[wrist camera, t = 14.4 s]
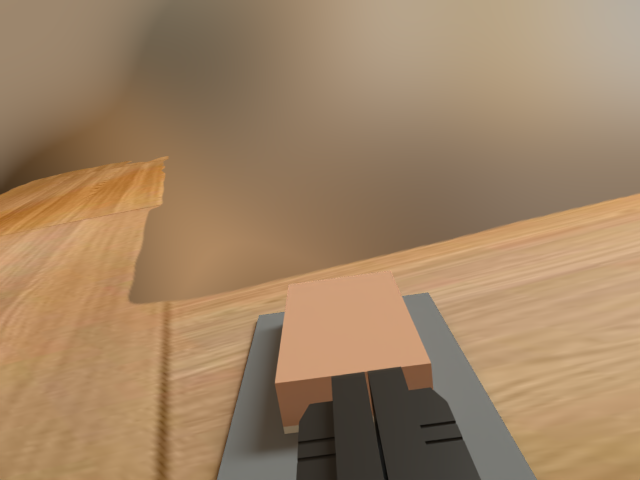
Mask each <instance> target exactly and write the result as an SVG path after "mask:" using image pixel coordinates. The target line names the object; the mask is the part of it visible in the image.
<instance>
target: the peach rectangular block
mask: <svg viewBox="0 0 640 480" xmlns="http://www.w3.org/2000/svg"><path fill="white" fill-rule="evenodd" d="M400 366H401V368H402V370H403V374H404V377H405V380H406V383H407V386H408V389H409V390H414V389H422V388H429V387H431V388H432V389H433V379H432V367H431V362H430V359H429V357H428V355H427V352H426V350H425V348H424V346H423V343H422V341H421V339H420V336H419V334H418V332H417V330H416V327H415V325H414V323H413V321H412V318H411V316H410V314H409V311H408V309H407V307H406V305H405V302H404V300H403V298H402V295H401V293H400V291H399V289H398V286H397V284H396V282H395V279H394V277H393V275H392V273H391V271H384V272H377V273H369V274H362V275H354V276H347V277H340V278H332V279H325V280H318V281H310V282H303V283H295V284H289V286H288V293H287V300H286V307H285V314H284V321H283V328H282V336H281V343H280V350H279V357H278V364H277V371H276V378H275V387H276V392H277V397H278V403H279V408H280V413H281V418H282V423H283V428H284V433H285V434H288V433H296V432H298V431H299V421H300V419H301V418H302V416H303V414H304V413H305V411H306V409H307V407H308V406H309V404H313V403H320V402H327V401H333V400H332V383H331V376H336V375H343V374H351V373H358V372H365V377H366V382H367V388H368V394H369V399H370V405H371V410H372V416H373V409H372V402H371V395H370V388H369V381H368V373H367V371H371V370H379V369H386V368H393V367H400ZM373 421H374V417H373Z"/></svg>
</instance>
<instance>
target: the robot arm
mask: <svg viewBox="0 0 640 480" xmlns="http://www.w3.org/2000/svg"><path fill="white" fill-rule="evenodd" d="M367 373H368V381H369V388H370V395H371V402H372V409H373V416H372V410H371V405H370V399H369V394H368V388H367V382H366V377H365V372H358V373H351V374H343V375H336V376H331V383H332V400H333V401H327V402H320V403H313V404H309V406H308V407H307V409H306V411H305V413H304V414H303V416H302V418H301V419H300V421H299V431H298V452H297V461H298V463H297V473H296V480H481V478H480V476H479V474H478V471H477V469H476V467H475V464H474V462H473V460H472V458H471V455H470V453H469V451H468V448H467V446H466V444H465V441H463V437H462V434H461V432H460V430H459V427H458V425H457V424H456V420H455V418H454V416H453V413H452V411H451V409H450V407H449V404H448V402H447V401H446V400H445V399H444V398H442V397H441V396H440V395H439V394H438V393H437V392H435V391H434V390H433V389H432V388H431V387H429V388H422V389H414V390H409V389H408V386H407V383H406V380H405V377H404V374H403V370H402V368H401V366H400V367H393V368H386V369H379V370H371V371H367ZM373 417H374V421H373ZM374 424H375V427H374ZM375 431H376V432H375Z"/></svg>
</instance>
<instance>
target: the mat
mask: <svg viewBox="0 0 640 480" xmlns="http://www.w3.org/2000/svg"><path fill="white" fill-rule="evenodd" d="M402 298H403V300H404V302H405V305H406V307H407V309H408V311H409V314H410V316H411V318H412V321H413V323H414V325H415V327H416V330H417V332H418V334H419V336H420V339H421V341H422V343H423V346H424V348H425V350H426V352H427V355H428V357H429V359H430V362H431V367H432V379H433V390H434V391H435V392H437V393H438V394H439V395H440V396H441V397H442V398H444V399H445V400H446V401H447V402H448V404H449V407H450V409H451V411H452V413H453V416H454V418H455V420H456V424H457V425H458V427H459V430H460V432H461V434H462V437H463V441H465V444H466V446H467V448H468V451H469V453H470V455H471V458H472V460H473V462H474V464H475V467H476V469H477V471H478V474H479V476H480V478H481V480H537V479H536V477H535V475H534V474H533V472H532V470H531V469H530V467H529V465H528V463H527V462H526V460H525V458H524V457H523V455H522V453H521V451H520V450H519V448H518V446H517V444H516V443H515V441H514V439H513V438H512V436H511V434H510V432H509V431H508V429H507V427H506V426H505V424H504V422H503V420H502V419H501V417H500V415H499V414H498V412H497V410H496V408H495V407H494V405H493V403H492V402H491V400H490V398H489V396H488V395H487V393H486V391H485V389H484V388H483V386H482V384H481V383H480V381H479V379H478V377H477V376H476V374H475V372H474V371H473V369H472V367H471V365H470V364H469V362H468V360H467V359H466V357H465V355H464V353H463V352H462V350H461V348H460V347H459V345H458V343H457V341H456V340H455V338H454V336H453V334H452V333H451V331H450V329H449V328H448V326H447V324H446V322H445V321H444V319H443V317H442V316H441V314H440V312H439V310H438V309H437V307H436V305H435V304H434V302H433V300H432V298H431V297H430V295H429V293H422V294H415V295H407V296H402ZM284 314H285V312H280V313H273V314H265V315H259V318H258V322H257V325H256V329H255V333H254V337H253V341H252V345H251V349H250V353H249V357H248V360H247V364H246V368H245V372H244V376H243V380H242V384H241V388H240V392H239V396H238V399H237V403H236V407H235V411H234V415H233V419H232V423H231V427H230V431H229V434H228V438H227V442H226V446H225V450H224V454H223V458H222V462H221V466H220V469H219V473H218V477H217V480H296V473H297V463H298V461H297V452H298V432H296V433H288V434H285V433H284V428H283V423H282V418H281V413H280V408H279V403H278V397H277V392H276V387H275V378H276V371H277V364H278V357H279V350H280V343H281V336H282V328H283V321H284ZM374 427H375V424H374ZM375 432H376V431H375Z"/></svg>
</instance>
